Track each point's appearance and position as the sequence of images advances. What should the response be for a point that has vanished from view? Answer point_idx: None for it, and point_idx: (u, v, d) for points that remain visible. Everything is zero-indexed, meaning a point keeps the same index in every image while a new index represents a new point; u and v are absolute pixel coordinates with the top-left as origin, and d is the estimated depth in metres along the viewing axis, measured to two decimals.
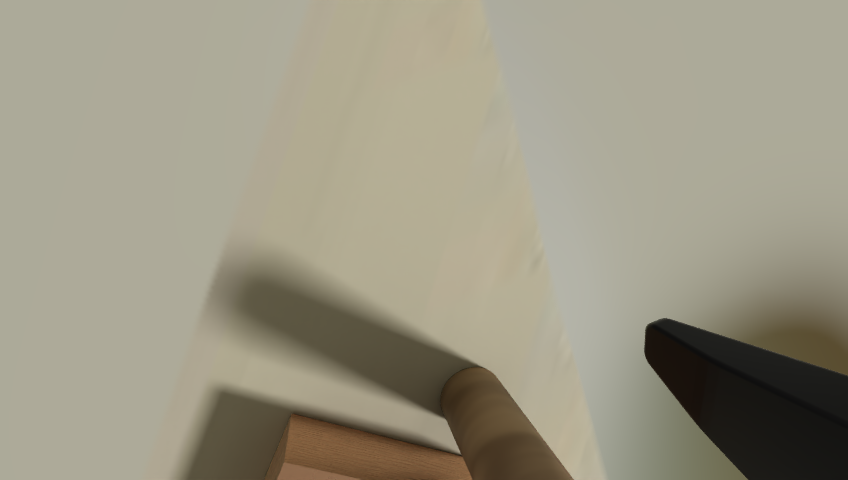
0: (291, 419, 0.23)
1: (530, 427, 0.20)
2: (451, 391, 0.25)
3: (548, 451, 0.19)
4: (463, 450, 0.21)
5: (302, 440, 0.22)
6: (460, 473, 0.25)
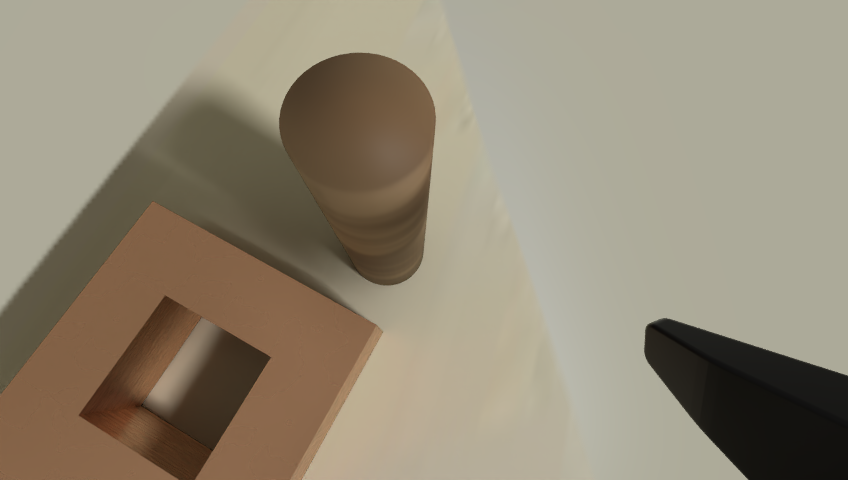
0: None
1: None
2: None
3: None
4: None
5: None
6: None
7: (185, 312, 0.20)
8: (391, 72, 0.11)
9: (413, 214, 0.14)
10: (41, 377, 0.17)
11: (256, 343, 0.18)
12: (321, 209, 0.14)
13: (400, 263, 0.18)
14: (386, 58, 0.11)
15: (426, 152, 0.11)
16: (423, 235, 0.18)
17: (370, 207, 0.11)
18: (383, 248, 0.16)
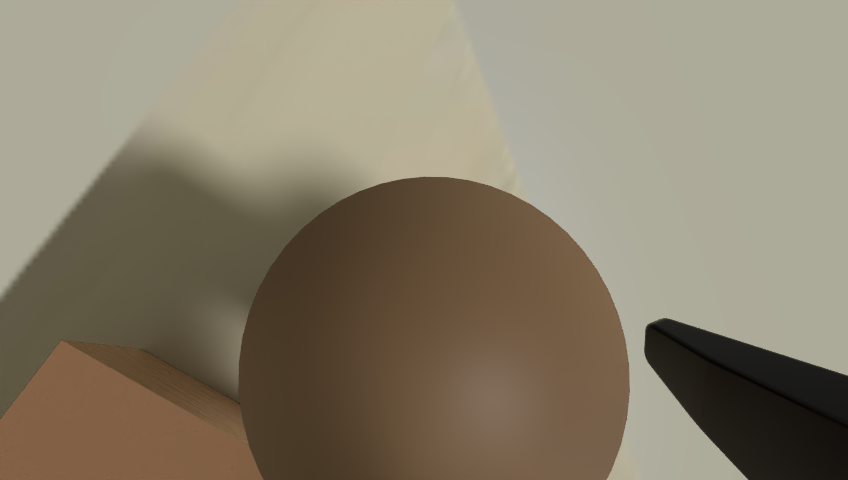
0: (133, 349, 0.16)
1: None
2: None
3: None
4: None
5: (122, 355, 0.14)
6: None
7: None
8: (504, 224, 0.05)
9: None
10: None
11: None
12: None
13: None
14: (488, 189, 0.05)
15: (616, 443, 0.04)
16: None
17: None
18: None
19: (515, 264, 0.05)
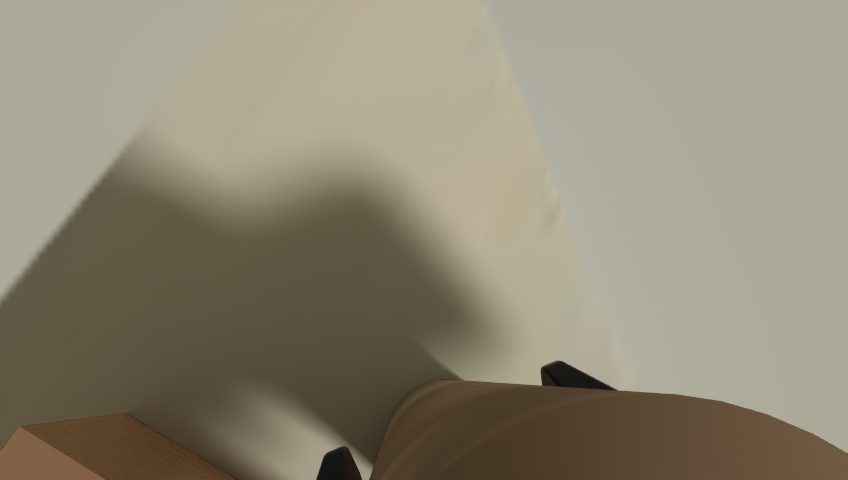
0: (114, 415, 0.13)
1: None
2: (400, 403, 0.13)
3: None
4: None
5: (99, 432, 0.12)
6: None
7: None
8: None
9: None
10: None
11: None
12: None
13: None
14: (764, 420, 0.02)
15: None
16: None
17: None
18: None
19: None
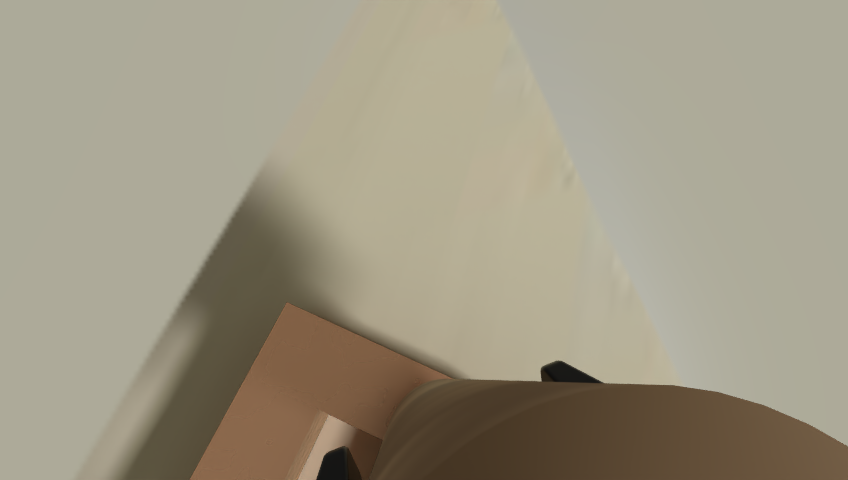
0: None
1: None
2: (400, 402, 0.13)
3: None
4: None
5: None
6: None
7: (322, 416, 0.19)
8: None
9: None
10: None
11: None
12: None
13: None
14: (759, 411, 0.02)
15: None
16: None
17: None
18: None
19: None
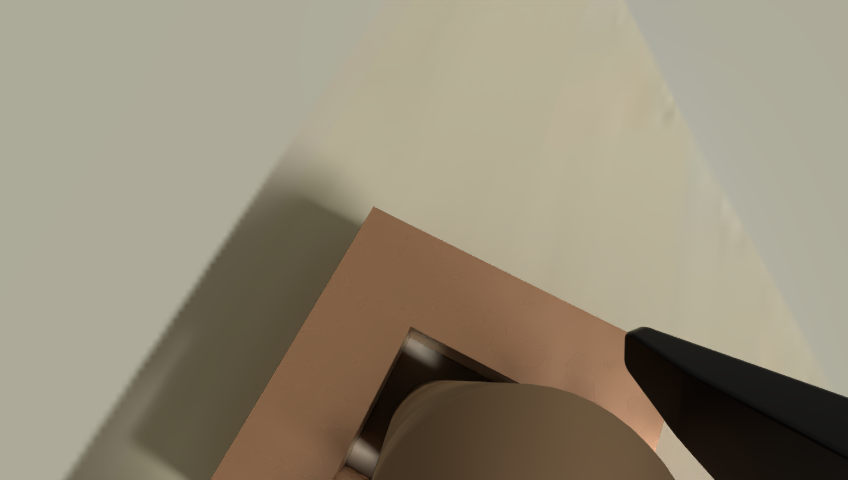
0: None
1: None
2: (401, 400, 0.16)
3: None
4: None
5: None
6: None
7: (403, 345, 0.16)
8: (589, 436, 0.05)
9: None
10: (269, 440, 0.13)
11: None
12: None
13: None
14: (571, 396, 0.05)
15: None
16: None
17: None
18: None
19: None
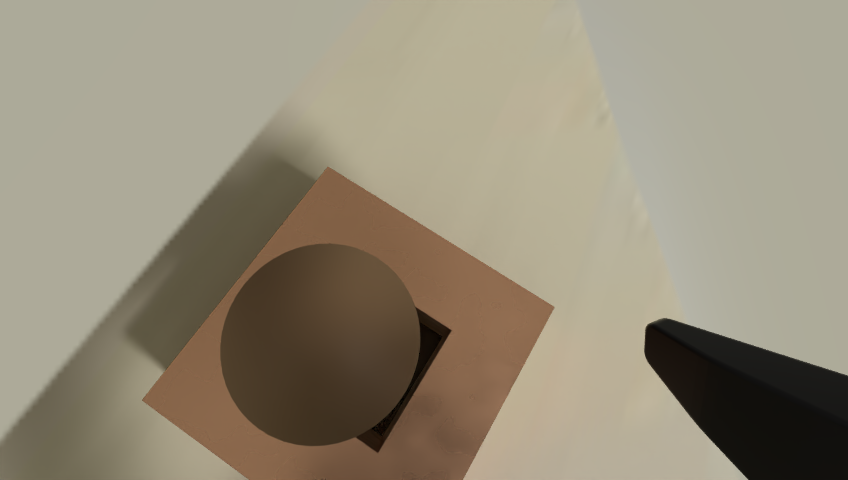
0: None
1: None
2: None
3: None
4: None
5: None
6: None
7: None
8: (370, 274, 0.09)
9: None
10: None
11: (437, 315, 0.18)
12: None
13: None
14: (366, 253, 0.09)
15: (404, 393, 0.08)
16: None
17: None
18: None
19: (371, 297, 0.09)
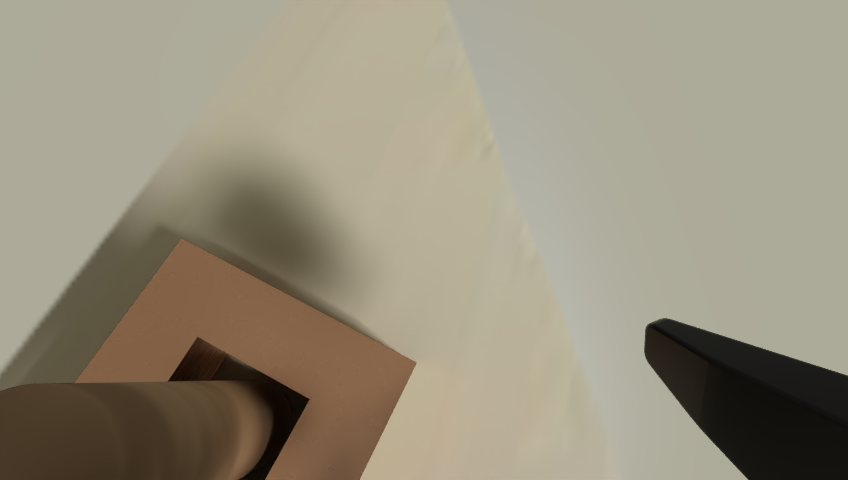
0: None
1: (231, 391, 0.15)
2: None
3: (211, 393, 0.14)
4: None
5: None
6: None
7: (213, 351, 0.20)
8: (72, 414, 0.08)
9: None
10: None
11: (294, 385, 0.17)
12: None
13: None
14: (70, 391, 0.09)
15: None
16: (252, 455, 0.16)
17: None
18: None
19: (71, 440, 0.08)
